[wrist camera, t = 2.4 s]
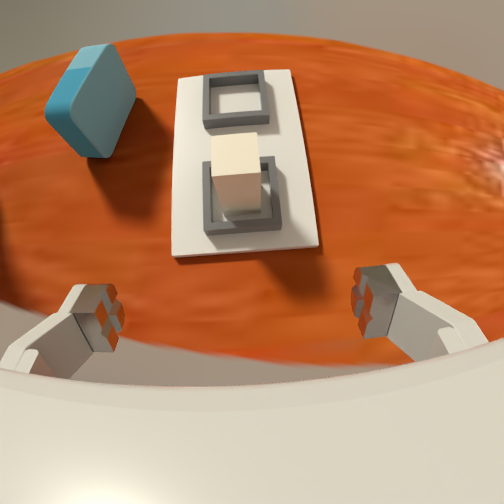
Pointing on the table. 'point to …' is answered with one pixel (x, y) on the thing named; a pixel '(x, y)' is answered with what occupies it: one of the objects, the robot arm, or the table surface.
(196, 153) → the dock
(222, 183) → the plug block
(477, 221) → the table surface
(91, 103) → the data package
